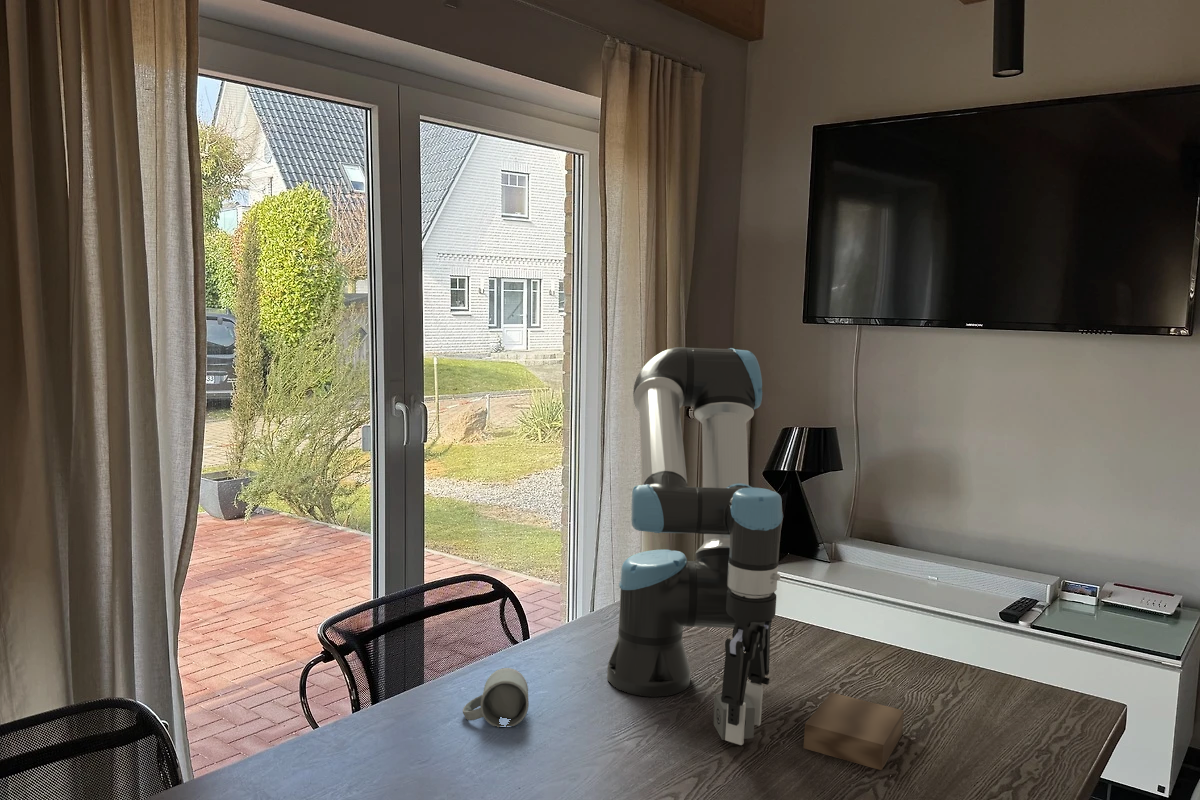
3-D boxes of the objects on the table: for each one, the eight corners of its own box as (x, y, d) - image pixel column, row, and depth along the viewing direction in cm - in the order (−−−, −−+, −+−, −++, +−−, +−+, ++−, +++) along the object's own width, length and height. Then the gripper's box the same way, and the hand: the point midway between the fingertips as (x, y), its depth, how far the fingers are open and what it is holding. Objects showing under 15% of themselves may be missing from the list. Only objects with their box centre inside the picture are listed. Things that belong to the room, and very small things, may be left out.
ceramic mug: (527, 705, 153) (528, 661, 152) (528, 728, 145) (528, 682, 144) (464, 707, 152) (464, 663, 151) (461, 730, 144) (461, 683, 143)
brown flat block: (803, 748, 141) (804, 723, 141) (829, 715, 153) (831, 692, 153) (881, 770, 135) (883, 744, 135) (902, 734, 147) (904, 710, 147)
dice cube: (722, 739, 139) (723, 709, 139) (713, 723, 144) (714, 694, 144) (753, 738, 140) (754, 707, 139) (743, 722, 145) (745, 692, 144)
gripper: (751, 614, 128) (742, 766, 131) (796, 578, 145) (787, 713, 148) (702, 603, 132) (695, 751, 135) (752, 569, 149) (744, 701, 152)
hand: (743, 731), depth 141 cm, fingers closed on dice cube, 7 cm apart
